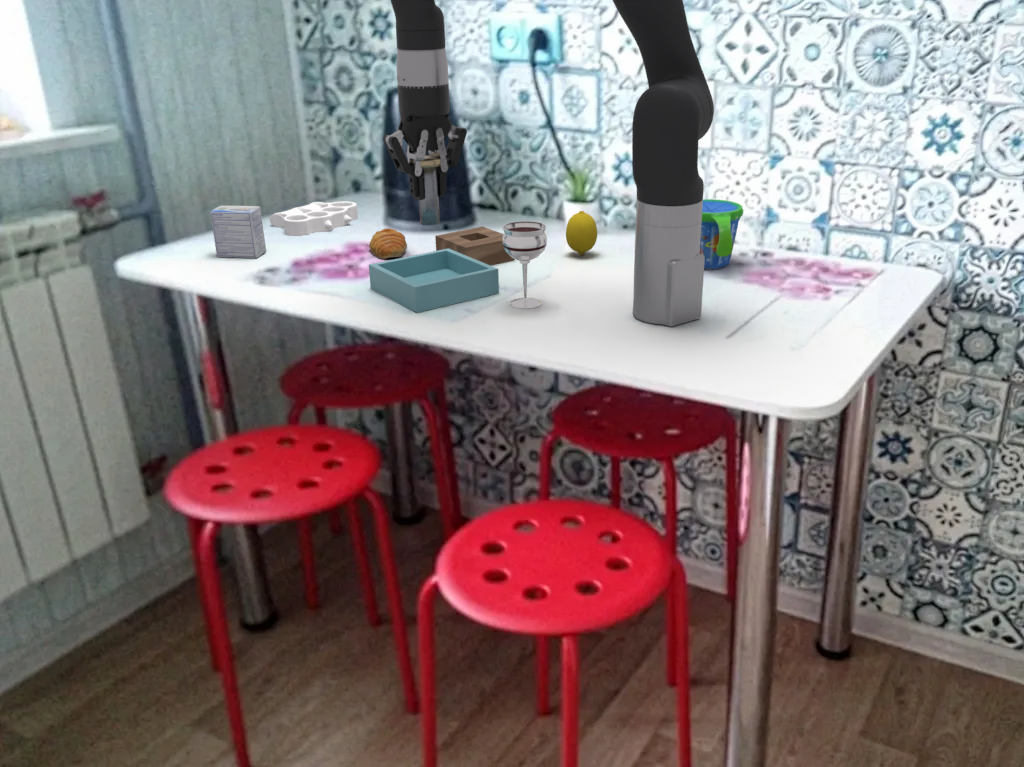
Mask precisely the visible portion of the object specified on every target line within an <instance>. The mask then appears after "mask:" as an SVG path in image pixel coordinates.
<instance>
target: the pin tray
mask: <svg viewBox="0 0 1024 767" xmlns="http://www.w3.org/2000/svg"><path fill="white" fill-rule="evenodd" d="M368 271H369V285H370V289H371V290H373V291H375V292H376V293H379V294H380V295H382V296H384V297H385V298H388V299H390V300H392V301H393V302H396V303H398V304H399V305H401V306H402V307H405V308H407V309H409V310H411V311H413V312H415V313H416V314H417V313H421V312H425V311H429V310H433V309H438V308H439V309H440V308H443V307H446V306H450V305H451V306H452V305H454V304H460V303H463V302H467V301H468V302H469V301H471V300H477V299H481V298H484V297H488V296H493V295H496V294H499V293H500V289H499V288H500V287H499V286H500V282H499V275H500V274H499V268H497V267H495V266H494V265H488V264H485V263H483V262H480V261H478V260H475V259H473V258H471V257H468V256H466V255H463V254H461V253H458V252H456V251H454V250H451V249H449V248H448V249H443V250H438V251H436V250H433V251H429V252H425V253H423V252H422V253H420V254H419V253H418V254H414V255H413V254H412V255H410V256H405V257H403V256H402V257H398V258H395V259H389V260H384V261H379V262H376V263H370V264H368Z"/></svg>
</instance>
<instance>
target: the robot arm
mask: <svg viewBox="0 0 1024 767" xmlns="http://www.w3.org/2000/svg"><path fill="white" fill-rule="evenodd" d="M612 2H613V5H614V7H615V8H616V10H617V12H618V14H619V15H620V17H621V19H622V20H623V22H624V24H625V25H626V27H627V28H628V30H629V32H630V33H631V35H632V37H633V40H634V41H635V43H636V45H637V47H638V50H639V52H640V55H641V58H642V63H643V66H644V70H645V74H646V78H647V80H646V81H647V85H648V88H647V89H646V90H645V91H644V92H642V94H640V97H639V98H638V99H637V101H636V104H635V107H634V112H633V117H632V130H631V136H632V137H631V138H632V140H631V143H632V145H631V149H632V151H631V152H632V153H631V154H632V166H631V167H632V176H633V181H634V183H635V187H636V205H635V206H636V207H635V208H636V209H635V211H636V212H635V239H634V261H633V262H634V263H633V264H634V265H633V295H632V298H633V299H632V302H633V303H632V314H633V316H634V317H635V319H637V320H640V321H642V322H645V323H649V324H655V325H656V324H657V325H665V326H668V327H674V326H678V325H681V324H685V323H687V322H690V321H691V322H692V321H694V320H698V319H701V318H702V305H703V304H702V303H703V291H704V290H703V289H704V275H705V274H704V273H705V269H704V261H705V257H704V255H703V254H700V238H701V220H702V206H703V199H704V190H705V189H704V187H705V186H704V180H703V178H702V177H701V176H700V173H699V169H698V168H699V167H698V163H699V140H701V139H703V137H704V136H706V135H707V133H708V132H709V130H710V129H711V125H712V123H713V120H714V116H715V115H714V112H715V105H714V100H713V97H712V93H711V90H710V87H709V84H708V82H707V79H706V77H705V74H704V71H703V68H702V66H701V63H700V59H699V57H698V55H697V51H696V50H695V46H694V43H693V40H692V36H691V33H690V32H691V31H690V29H689V25H688V19H687V15H686V10H685V5H684V0H612ZM390 4H391V6H392V9H393V12H394V17H395V32H396V34H395V35H396V81H397V98H398V110H399V116H400V122H399V124H398V127H397V128H398V130H396V131H395V132H393V133H392V134H390V135H389V134H385V135H383V138H382V141H383V142H384V144H385V147H386V150H387V152H388V154H389V155H390V156H389V157H391V160H392V162H393V164H394V166H395V168H396V170H397V171H398V172H402V173H404V174H407V175H408V182H409V187H408V188H409V193H410V196H411V197H413V199H414V200H416V201H419V200H423V199H424V191H423V176H421V173H422V168H421V164H420V162H421V161H424V160H425V156H426V152H427V153H428V156H434V157H437V158H439V159H440V158H441V166H438V167H437V178H438V198H442V197H444V196H445V193H447V189H448V187H447V184H448V183H447V172H448V171H449V169H451V168H453V167H457V166H458V162H459V160H460V157H461V153H462V150H463V148H464V147H463V146H464V144H465V140H466V137H467V135H468V134H467V133H468V131H467V129H466V128H464V127H461V126H457V125H453V124H452V121H451V119H450V116H449V114H450V111H451V110H450V109H451V108H450V85H449V84H450V83H449V81H450V80H449V64H448V57H447V50H446V31H445V19H444V18H445V16H444V13H443V10H442V9H441V8H440V7H439V6H438V5H436V2H435V0H390ZM447 137H448V141H447V146H446V143H445V141H446V140H447ZM403 140H404V141H405V143H406V144H407V148H406V149H407V150H406V154H405V152H404V149H403V148H402V147H403V146H404V144H403V143H404V141H403ZM412 159H414V166H413V161H412Z"/></svg>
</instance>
